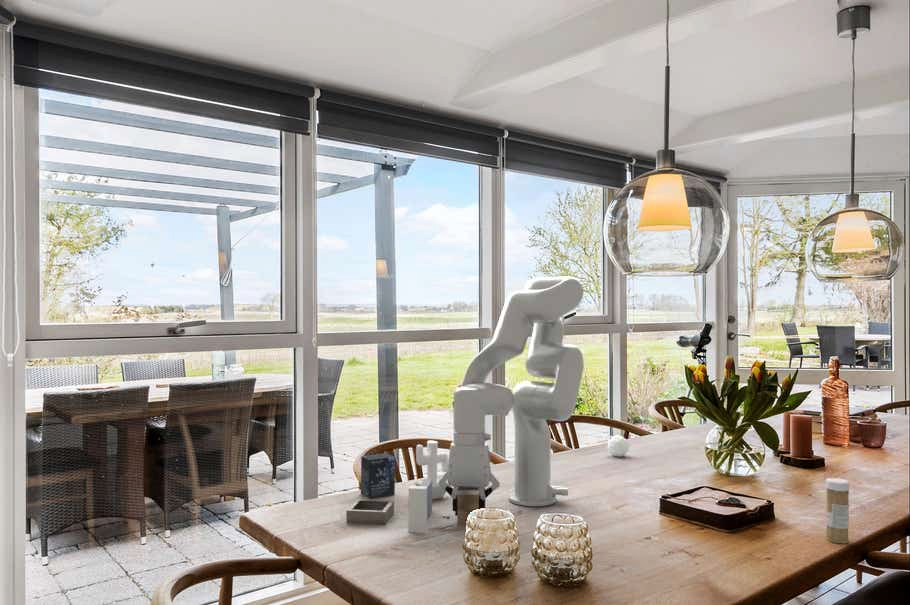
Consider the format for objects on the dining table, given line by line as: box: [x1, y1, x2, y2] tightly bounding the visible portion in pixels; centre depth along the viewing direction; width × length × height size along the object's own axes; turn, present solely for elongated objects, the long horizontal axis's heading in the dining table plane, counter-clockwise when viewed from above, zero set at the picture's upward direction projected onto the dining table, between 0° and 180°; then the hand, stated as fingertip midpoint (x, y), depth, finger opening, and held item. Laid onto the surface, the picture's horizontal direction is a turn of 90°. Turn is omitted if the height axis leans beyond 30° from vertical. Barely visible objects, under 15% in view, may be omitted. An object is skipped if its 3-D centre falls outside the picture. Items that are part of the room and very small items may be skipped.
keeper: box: [345, 498, 395, 526], centre depth 165 cm, size 10×10×3 cm
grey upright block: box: [407, 478, 433, 534], centre depth 162 cm, size 4×16×10 cm, turn 173°
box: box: [360, 452, 396, 500], centre depth 185 cm, size 8×6×11 cm
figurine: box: [413, 439, 449, 500], centre depth 183 cm, size 7×9×15 cm
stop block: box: [456, 487, 480, 526], centre depth 162 cm, size 5×5×8 cm
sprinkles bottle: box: [825, 477, 851, 544], centre depth 150 cm, size 5×5×14 cm
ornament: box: [606, 435, 630, 458], centre depth 233 cm, size 7×7×8 cm
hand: (468, 513), depth 162 cm, fingers closed on stop block, 5 cm apart
